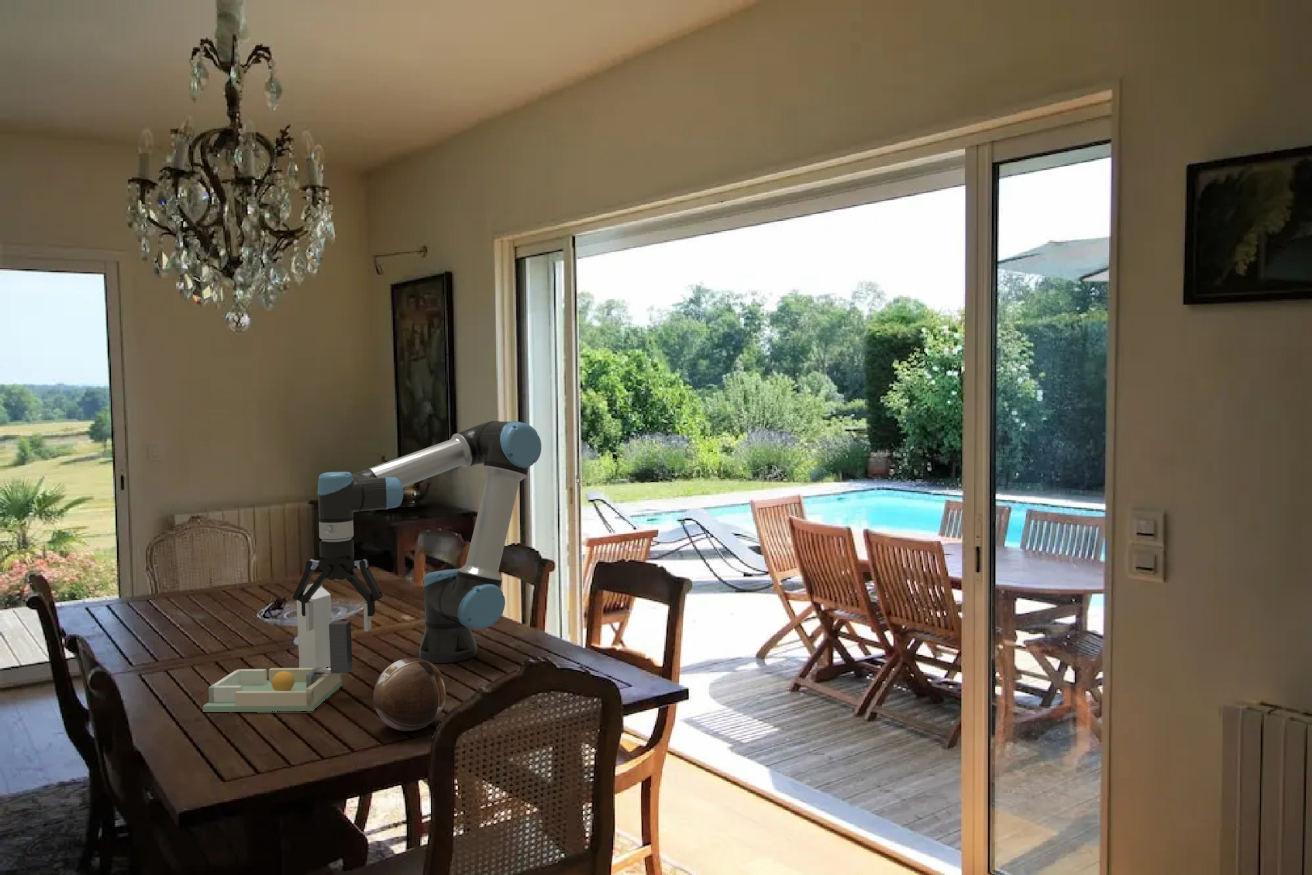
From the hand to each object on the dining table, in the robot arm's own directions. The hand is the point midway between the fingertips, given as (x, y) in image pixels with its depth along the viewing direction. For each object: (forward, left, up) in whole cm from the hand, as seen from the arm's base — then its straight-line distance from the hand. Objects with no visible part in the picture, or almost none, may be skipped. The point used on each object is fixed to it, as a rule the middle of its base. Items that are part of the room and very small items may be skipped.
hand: (338, 630), depth 216 cm
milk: (+16, -24, -17) cm, 33 cm away
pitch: (+16, 0, -16) cm, 23 cm away
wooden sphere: (-22, +19, -17) cm, 33 cm away
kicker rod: (+2, 0, -14) cm, 15 cm away
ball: (+14, 0, -12) cm, 18 cm away
